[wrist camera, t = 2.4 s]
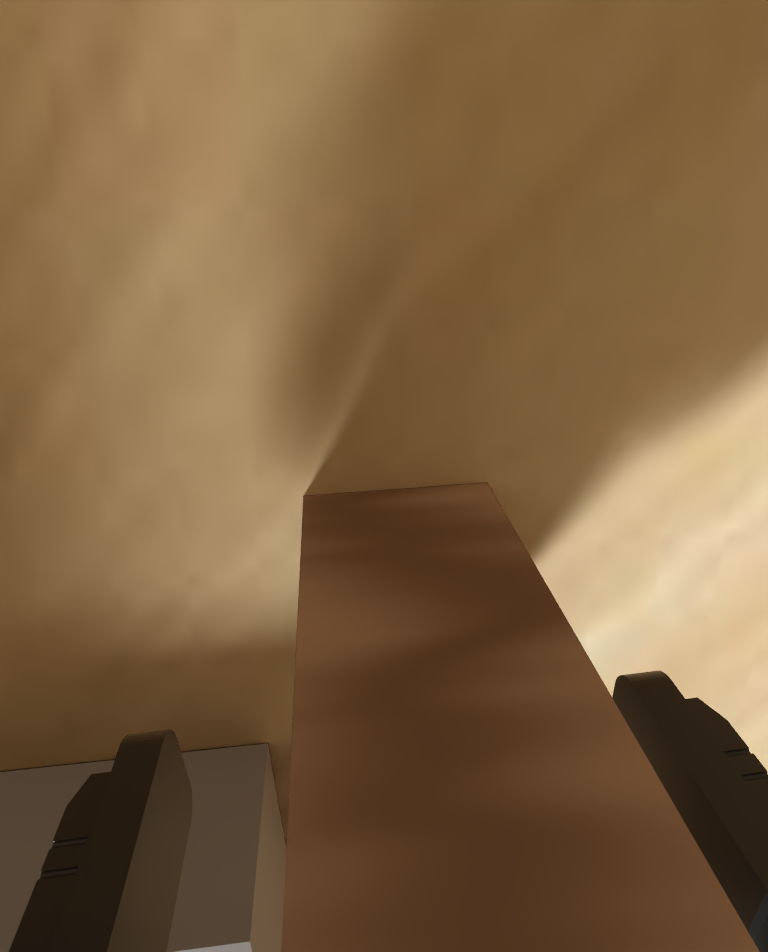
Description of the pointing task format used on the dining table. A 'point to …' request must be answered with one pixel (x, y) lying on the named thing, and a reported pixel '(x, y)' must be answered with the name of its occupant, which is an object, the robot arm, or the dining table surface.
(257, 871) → the socket
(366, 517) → the peg
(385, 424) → the dining table surface
